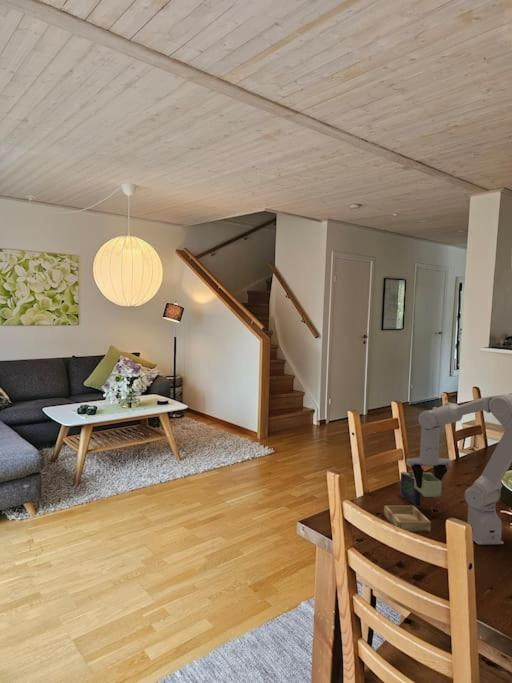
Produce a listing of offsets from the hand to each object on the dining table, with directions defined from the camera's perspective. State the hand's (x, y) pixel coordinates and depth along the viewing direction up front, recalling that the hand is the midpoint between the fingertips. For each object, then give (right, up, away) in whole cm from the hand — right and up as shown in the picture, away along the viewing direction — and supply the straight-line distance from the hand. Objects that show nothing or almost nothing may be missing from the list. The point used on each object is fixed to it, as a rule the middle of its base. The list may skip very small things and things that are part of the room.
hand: (427, 487), depth 150 cm
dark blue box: (-2, -8, +11) cm, 14 cm away
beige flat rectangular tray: (-9, -9, -7) cm, 15 cm away
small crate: (0, -2, 0) cm, 2 cm away
